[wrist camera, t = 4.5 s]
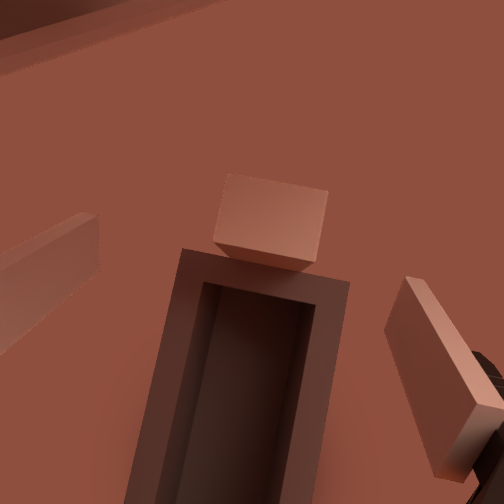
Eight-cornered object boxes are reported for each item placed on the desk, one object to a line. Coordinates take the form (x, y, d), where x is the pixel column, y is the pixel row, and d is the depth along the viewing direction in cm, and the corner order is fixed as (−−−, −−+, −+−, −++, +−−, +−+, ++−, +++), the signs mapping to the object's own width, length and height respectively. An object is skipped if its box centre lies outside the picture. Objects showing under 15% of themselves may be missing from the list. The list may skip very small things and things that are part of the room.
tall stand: (265, 600, 33) (323, 285, 36) (263, 772, 21) (350, 282, 24) (142, 567, 34) (209, 262, 37) (75, 715, 22) (182, 248, 25)
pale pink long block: (290, 278, 36) (296, 244, 36) (315, 261, 17) (328, 191, 17) (241, 268, 36) (248, 235, 36) (212, 241, 17) (227, 172, 17)
